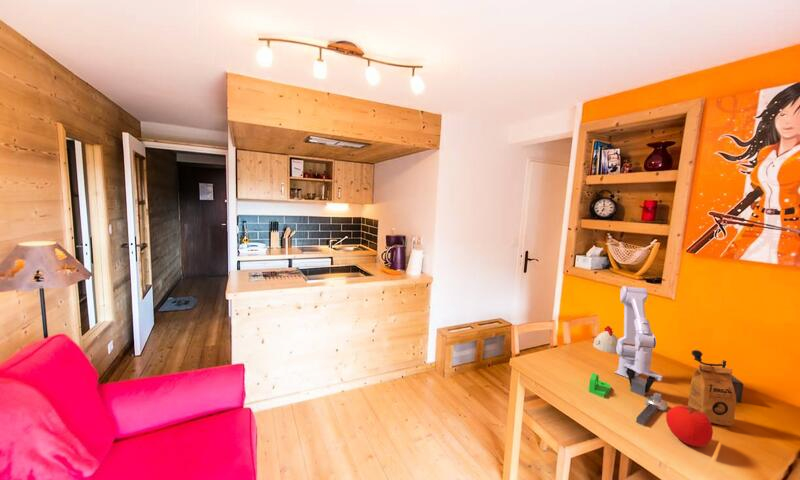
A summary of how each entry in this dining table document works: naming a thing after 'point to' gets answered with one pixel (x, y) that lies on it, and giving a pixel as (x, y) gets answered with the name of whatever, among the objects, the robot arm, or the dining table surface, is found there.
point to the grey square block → (638, 385)
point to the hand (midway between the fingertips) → (639, 388)
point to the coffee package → (713, 394)
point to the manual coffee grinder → (736, 383)
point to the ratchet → (651, 408)
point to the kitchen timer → (606, 341)
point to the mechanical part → (598, 386)
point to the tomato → (689, 425)
